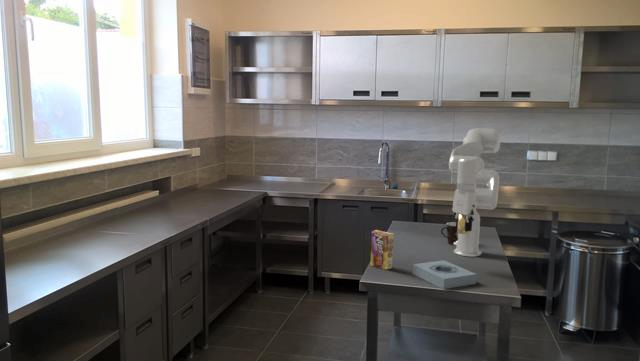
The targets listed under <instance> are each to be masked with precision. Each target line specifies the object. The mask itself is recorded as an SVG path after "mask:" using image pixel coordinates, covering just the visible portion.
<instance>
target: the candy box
mask: <svg viewBox="0 0 640 361" xmlns="http://www.w3.org/2000/svg"><path fill="white" fill-rule="evenodd" d="M394 236H395V235H394V233H393V232H387V231H382V230H380V229H379V230H378V229H375V230H372V231H371V247H370V248H371V249H370V266H371V267H375V268H379V269H383V270H391V269H393V253H394Z"/></svg>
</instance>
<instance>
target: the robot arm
mask: <svg viewBox="0 0 640 361" xmlns="http://www.w3.org/2000/svg"><path fill="white" fill-rule="evenodd" d="M462 140H463V141H462V144H460V145H459V146H457V147H455V148H454V149H452V151H451V153H450V156H449V159H448V169H449V170H450V172H451V173H456V174H457V179H456V180H457V181H456V189H455V190H454V194H453V200H452V208H451V210H452V212H453V214H454V216H455V217H454V219H455V223H456V228H458V214H462V215H466V222H465V231H466V232H467V231H470V232H469V234H460V233H458V241H456V242H454V245H453V246H456V248H454V249H453V253H454V254H456V255H458V256H463V257H470V258H471V257H472V258H473V257H479V256H482V251H481V250H479V243H480V227H481V226H480V225H481V216H480V214H479V213H478V211H477V209H482V210H494V209H496V207H497V206H498V201H499V191H500V190H499V188H500V175H499V173H498V172H497V171H496V170H494V169H485V161H484V160H483V158H482V157H481V155H482V154H483V153H484V154H486V153H487V154H496V153H498V151H499V150H500V148H501V139H500V134H499V132H498V130H497V129H494V128H483V127H482V128H480V127H479V128H477V127H475V128H471V129H469V130H468V132H467V133H466V136H465V137H464V138H463V139H462ZM469 214H470V215H469ZM469 216H470V218H469Z"/></svg>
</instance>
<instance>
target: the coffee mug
mask: <svg viewBox="0 0 640 361" xmlns="http://www.w3.org/2000/svg"><path fill="white" fill-rule="evenodd" d="M444 229H446V233H447V234H446V235H445V234H444V233H443V231H444ZM440 232H441V234H442V236H443V237H444V238H447V244H448V245H451V246H455V245H454V242H456V241H458V233H457V228H456V221H454V222H453V221H452V222H446V226H445V227H444V226H443V227H442V228H441V230H440Z"/></svg>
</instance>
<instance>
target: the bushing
mask: <svg viewBox="0 0 640 361" xmlns="http://www.w3.org/2000/svg"><path fill="white" fill-rule="evenodd" d="M469 215H470V214H469ZM469 218H470V216H469ZM465 222H466V215H462V214H458V228H457V233H460V234H469V232H470V231H467V232H466V231H465Z"/></svg>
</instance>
